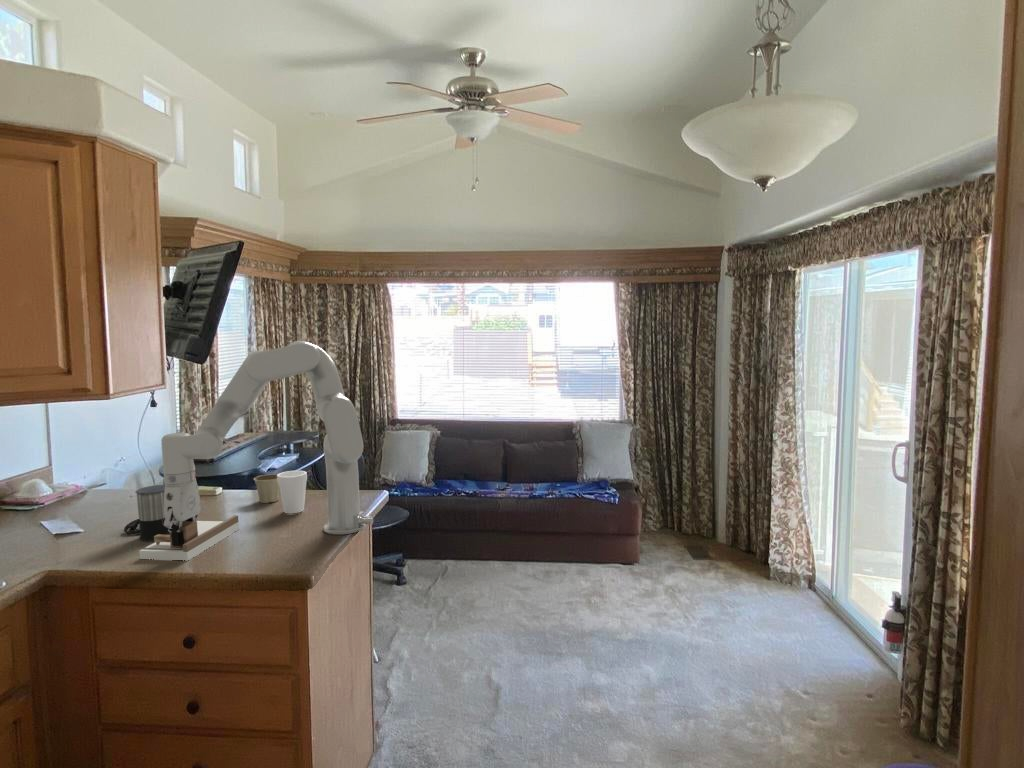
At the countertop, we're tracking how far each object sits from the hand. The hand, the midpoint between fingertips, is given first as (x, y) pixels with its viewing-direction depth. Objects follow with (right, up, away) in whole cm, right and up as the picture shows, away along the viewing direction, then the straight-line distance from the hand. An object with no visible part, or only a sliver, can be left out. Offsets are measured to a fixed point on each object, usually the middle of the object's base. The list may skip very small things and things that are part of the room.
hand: (184, 541), depth 182 cm
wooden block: (-3, -1, 0) cm, 3 cm away
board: (-2, -3, +9) cm, 9 cm away
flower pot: (+4, +2, +52) cm, 52 cm away
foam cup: (+18, +1, +38) cm, 42 cm away
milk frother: (-20, -2, +18) cm, 27 cm away
